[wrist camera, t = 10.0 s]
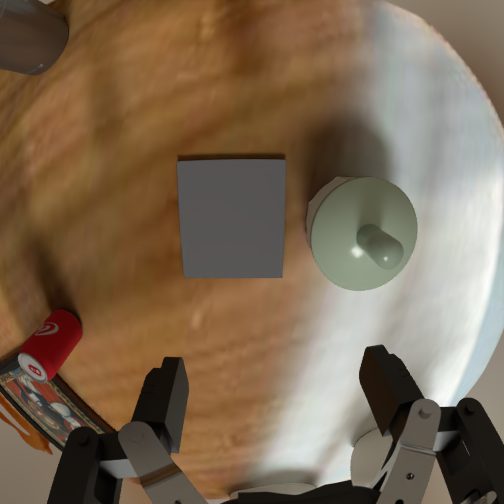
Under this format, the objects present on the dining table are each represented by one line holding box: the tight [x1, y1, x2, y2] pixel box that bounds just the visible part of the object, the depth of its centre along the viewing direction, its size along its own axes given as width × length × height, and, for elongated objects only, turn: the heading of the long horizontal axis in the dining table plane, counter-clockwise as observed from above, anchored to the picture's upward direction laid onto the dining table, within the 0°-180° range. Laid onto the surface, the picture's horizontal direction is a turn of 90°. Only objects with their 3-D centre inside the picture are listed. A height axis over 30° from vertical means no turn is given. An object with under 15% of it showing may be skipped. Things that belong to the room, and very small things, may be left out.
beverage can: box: [18, 309, 83, 383], centre depth 33 cm, size 6×6×12 cm
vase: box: [350, 428, 393, 488], centre depth 34 cm, size 17×17×35 cm
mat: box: [177, 159, 286, 278], centre depth 33 cm, size 14×12×1 cm
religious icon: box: [0, 351, 116, 452], centre depth 48 cm, size 38×35×3 cm
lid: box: [310, 177, 417, 291], centre depth 26 cm, size 12×12×6 cm
